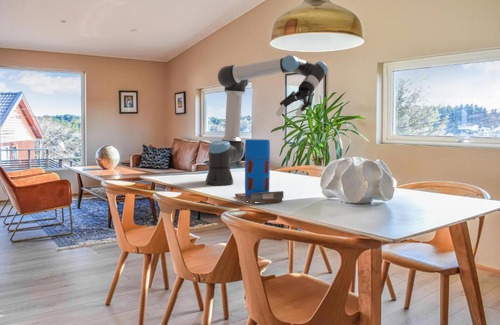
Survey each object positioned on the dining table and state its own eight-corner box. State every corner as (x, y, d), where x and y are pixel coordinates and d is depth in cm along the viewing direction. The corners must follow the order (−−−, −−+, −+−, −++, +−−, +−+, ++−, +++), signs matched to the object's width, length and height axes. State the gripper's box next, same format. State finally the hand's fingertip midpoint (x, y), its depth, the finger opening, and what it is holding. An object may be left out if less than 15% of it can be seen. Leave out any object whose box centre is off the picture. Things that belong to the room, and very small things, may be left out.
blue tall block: (259, 199, 187) (260, 140, 185) (239, 196, 194) (240, 139, 191) (274, 195, 196) (274, 139, 194) (254, 193, 202) (255, 139, 200)
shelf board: (235, 196, 201) (235, 187, 201) (264, 194, 207) (264, 185, 207) (251, 204, 184) (251, 193, 183) (283, 201, 190) (283, 191, 189)
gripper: (330, 90, 217) (309, 120, 209) (294, 92, 236) (273, 120, 228) (323, 78, 213) (302, 109, 205) (287, 81, 232) (266, 110, 224)
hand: (287, 115), depth 217 cm, fingers open, 13 cm apart
